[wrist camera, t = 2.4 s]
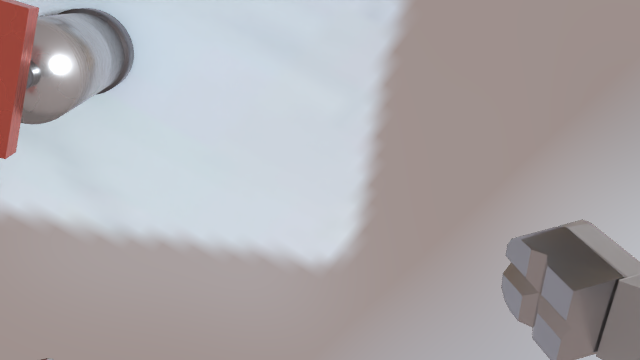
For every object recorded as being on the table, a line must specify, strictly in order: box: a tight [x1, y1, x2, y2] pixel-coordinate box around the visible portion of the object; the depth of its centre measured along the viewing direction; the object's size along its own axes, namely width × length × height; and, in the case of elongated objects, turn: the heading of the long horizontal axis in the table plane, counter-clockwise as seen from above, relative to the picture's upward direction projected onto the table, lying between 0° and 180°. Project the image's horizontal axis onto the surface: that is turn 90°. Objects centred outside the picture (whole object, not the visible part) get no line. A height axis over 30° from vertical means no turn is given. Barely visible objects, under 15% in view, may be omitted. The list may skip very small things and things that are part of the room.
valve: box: [0, 0, 134, 159], centre depth 27 cm, size 6×5×12 cm
